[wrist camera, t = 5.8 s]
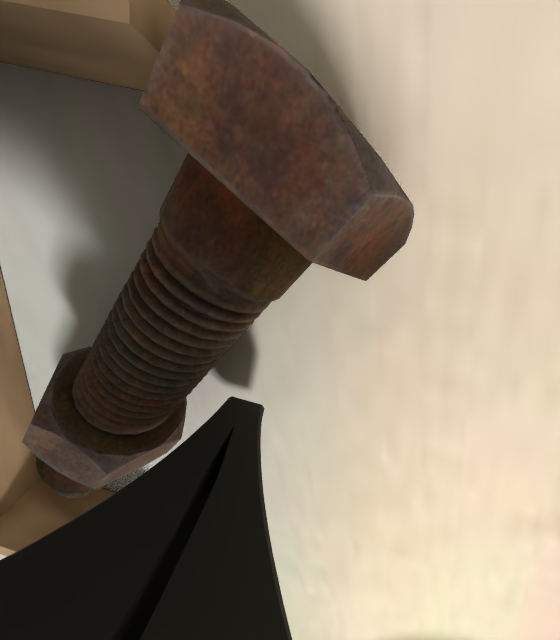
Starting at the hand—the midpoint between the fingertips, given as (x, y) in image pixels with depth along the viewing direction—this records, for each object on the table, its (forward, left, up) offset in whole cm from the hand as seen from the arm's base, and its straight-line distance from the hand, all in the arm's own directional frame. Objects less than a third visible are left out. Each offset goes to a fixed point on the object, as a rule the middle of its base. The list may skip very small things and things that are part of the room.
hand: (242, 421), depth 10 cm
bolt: (-3, +2, -2) cm, 4 cm away
